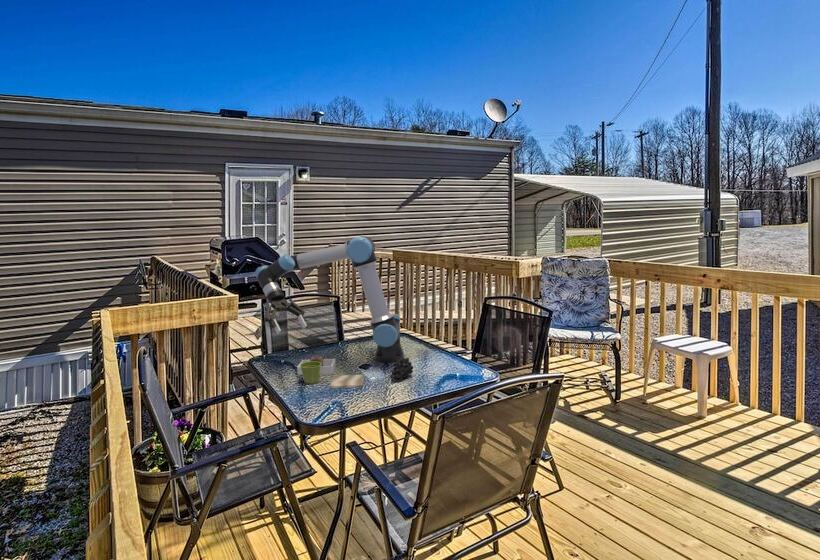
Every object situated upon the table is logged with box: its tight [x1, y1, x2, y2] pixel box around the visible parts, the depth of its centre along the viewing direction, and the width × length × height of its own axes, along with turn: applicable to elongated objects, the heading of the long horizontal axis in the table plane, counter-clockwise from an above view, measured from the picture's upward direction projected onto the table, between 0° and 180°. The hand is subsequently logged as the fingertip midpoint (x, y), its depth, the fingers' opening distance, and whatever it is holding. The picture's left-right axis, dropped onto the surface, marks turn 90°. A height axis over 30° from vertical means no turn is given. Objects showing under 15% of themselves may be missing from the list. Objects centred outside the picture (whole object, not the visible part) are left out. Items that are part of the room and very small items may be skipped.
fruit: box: [389, 357, 414, 382], centre depth 221 cm, size 9×8×15 cm
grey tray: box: [297, 358, 337, 376], centre depth 232 cm, size 16×12×4 cm
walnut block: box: [309, 355, 324, 366], centre depth 232 cm, size 5×5×6 cm
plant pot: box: [299, 361, 322, 386], centre depth 217 cm, size 9×9×9 cm
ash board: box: [329, 374, 366, 389], centre depth 217 cm, size 14×14×1 cm
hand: (292, 329), depth 224 cm, fingers open, 13 cm apart
